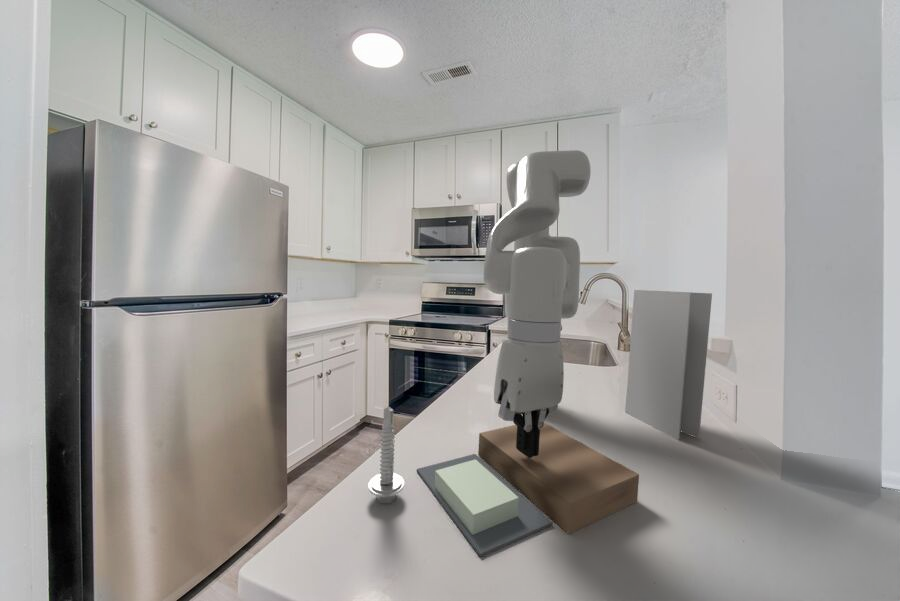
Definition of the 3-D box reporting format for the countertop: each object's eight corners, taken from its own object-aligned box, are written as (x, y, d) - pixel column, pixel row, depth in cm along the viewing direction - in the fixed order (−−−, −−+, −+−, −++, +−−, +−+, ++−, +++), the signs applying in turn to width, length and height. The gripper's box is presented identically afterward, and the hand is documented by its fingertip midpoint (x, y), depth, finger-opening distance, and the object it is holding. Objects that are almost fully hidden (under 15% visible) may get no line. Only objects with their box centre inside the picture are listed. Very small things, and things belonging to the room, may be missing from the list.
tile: (475, 459, 51) (474, 474, 51) (435, 470, 48) (434, 487, 48) (518, 497, 42) (517, 516, 42) (473, 514, 39) (472, 534, 39)
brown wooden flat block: (478, 455, 58) (479, 433, 57) (537, 439, 64) (538, 419, 64) (568, 534, 40) (570, 503, 40) (637, 501, 47) (639, 474, 47)
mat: (416, 471, 52) (416, 468, 52) (474, 456, 57) (475, 453, 57) (479, 557, 36) (480, 553, 36) (552, 525, 42) (552, 522, 42)
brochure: (699, 438, 68) (712, 293, 66) (678, 440, 67) (690, 292, 65) (643, 410, 82) (653, 290, 80) (625, 412, 80) (634, 289, 78)
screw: (402, 509, 43) (365, 510, 43) (404, 486, 48) (371, 487, 48) (405, 413, 43) (367, 413, 42) (407, 400, 47) (373, 399, 47)
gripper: (551, 326, 55) (545, 432, 56) (477, 330, 48) (471, 451, 49) (589, 334, 49) (581, 453, 50) (510, 339, 42) (503, 478, 43)
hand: (526, 452), depth 50 cm, fingers closed
